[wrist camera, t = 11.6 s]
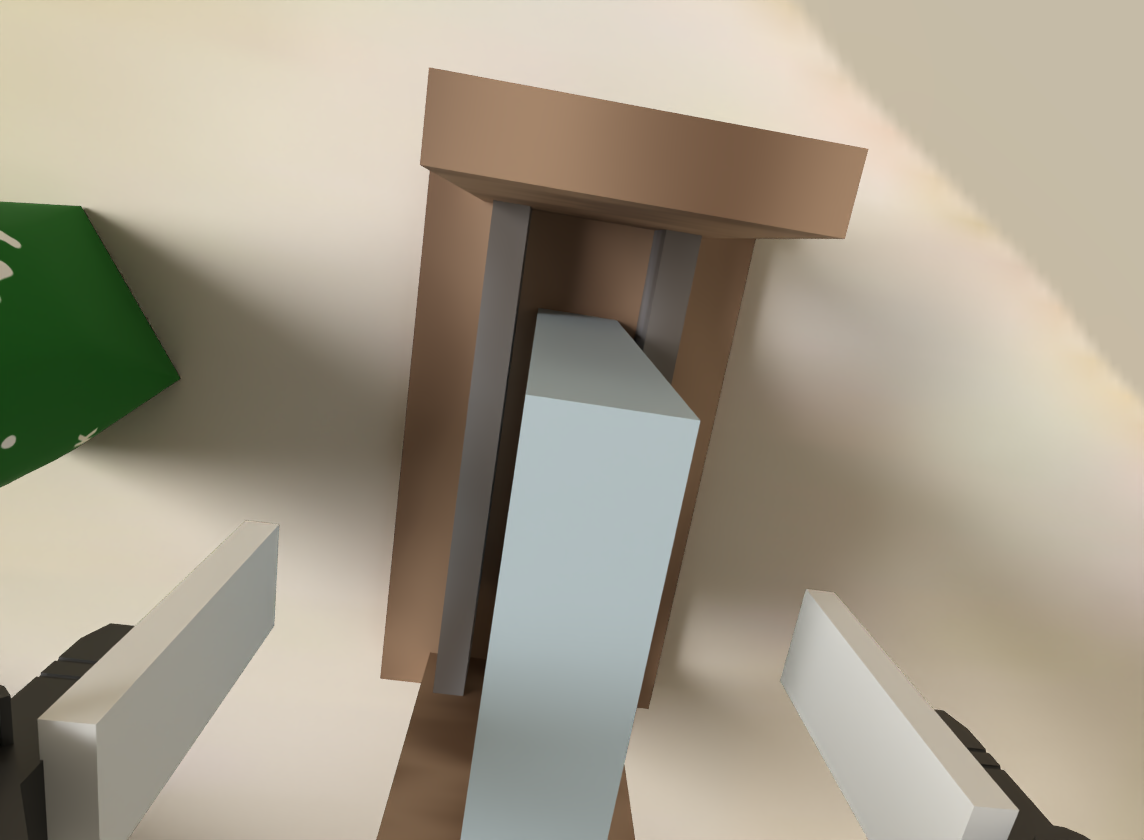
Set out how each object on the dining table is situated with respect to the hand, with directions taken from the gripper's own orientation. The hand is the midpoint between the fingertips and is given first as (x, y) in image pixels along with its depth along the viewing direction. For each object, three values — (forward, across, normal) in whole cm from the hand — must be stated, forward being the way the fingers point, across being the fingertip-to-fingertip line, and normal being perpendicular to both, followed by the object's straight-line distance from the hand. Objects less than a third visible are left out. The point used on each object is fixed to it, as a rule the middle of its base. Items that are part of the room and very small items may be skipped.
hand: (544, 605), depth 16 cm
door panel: (+10, 0, 0) cm, 10 cm away
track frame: (+12, 0, 0) cm, 12 cm away
